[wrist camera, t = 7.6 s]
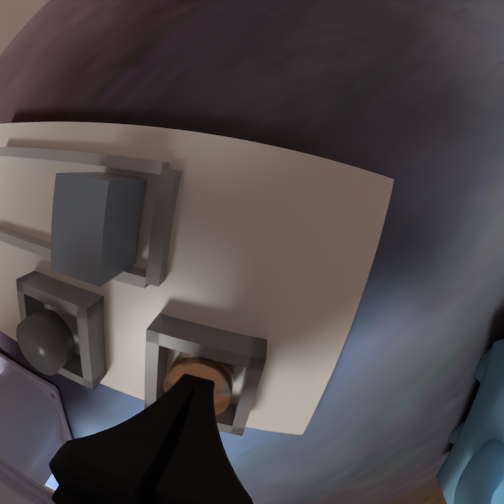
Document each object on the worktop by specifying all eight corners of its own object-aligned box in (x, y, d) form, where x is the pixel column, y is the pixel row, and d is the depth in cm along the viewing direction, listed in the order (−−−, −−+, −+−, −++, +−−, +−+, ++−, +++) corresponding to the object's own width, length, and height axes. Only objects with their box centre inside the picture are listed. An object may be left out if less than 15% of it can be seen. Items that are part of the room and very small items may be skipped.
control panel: (301, 417, 16) (303, 455, 13) (7, 320, 16) (-19, 336, 13) (381, 179, 12) (410, 179, 9) (9, 125, 13) (-25, 123, 10)
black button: (78, 367, 13) (62, 384, 11) (38, 347, 13) (21, 361, 11) (73, 319, 12) (54, 334, 10) (31, 301, 12) (12, 312, 10)
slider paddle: (135, 263, 12) (100, 287, 9) (91, 251, 12) (51, 270, 9) (146, 179, 11) (109, 180, 8) (99, 172, 11) (56, 173, 8)
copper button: (228, 401, 14) (224, 423, 12) (171, 386, 14) (162, 406, 12) (240, 356, 13) (236, 377, 11) (175, 340, 13) (164, 358, 11)
